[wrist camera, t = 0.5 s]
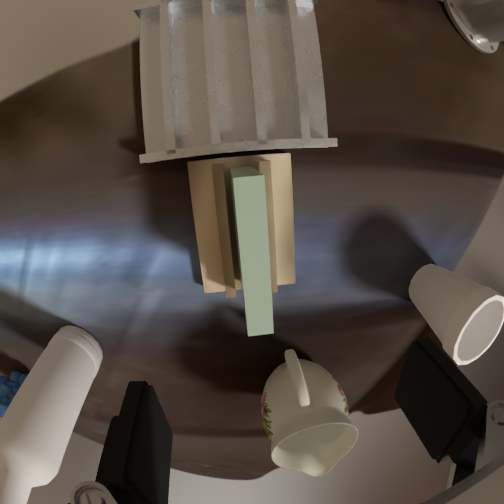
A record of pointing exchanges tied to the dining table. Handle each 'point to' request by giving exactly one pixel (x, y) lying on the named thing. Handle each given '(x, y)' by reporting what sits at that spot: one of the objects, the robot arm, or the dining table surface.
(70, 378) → the bottle
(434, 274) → the foam cup
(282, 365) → the pitcher
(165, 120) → the rack
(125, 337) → the dining table surface
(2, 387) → the grapes
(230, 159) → the stand
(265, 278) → the sage green plank
